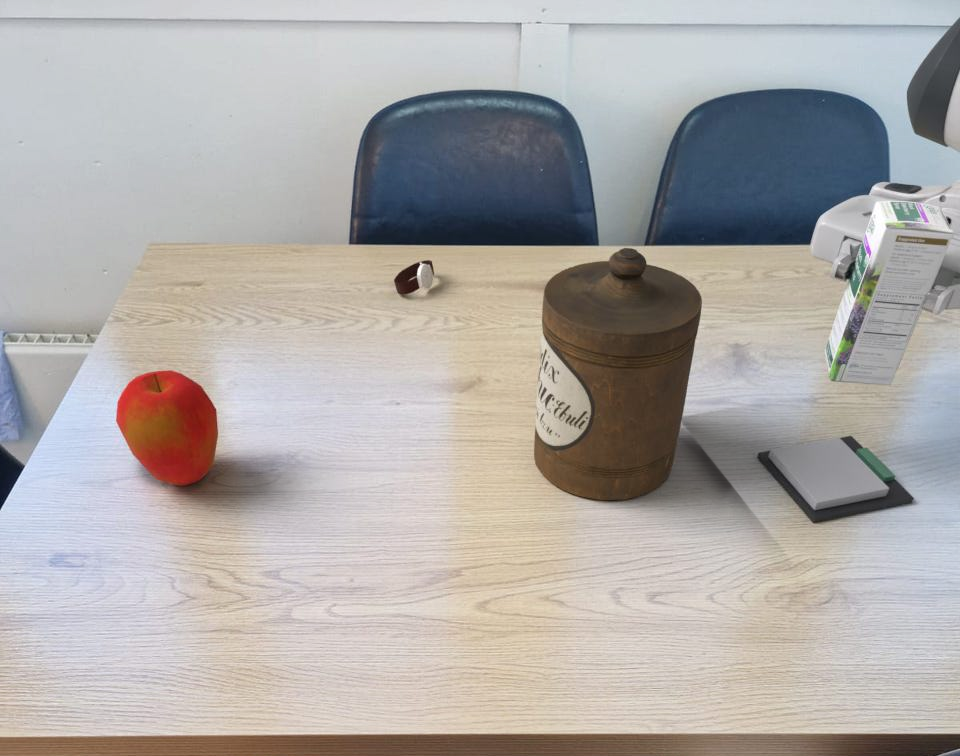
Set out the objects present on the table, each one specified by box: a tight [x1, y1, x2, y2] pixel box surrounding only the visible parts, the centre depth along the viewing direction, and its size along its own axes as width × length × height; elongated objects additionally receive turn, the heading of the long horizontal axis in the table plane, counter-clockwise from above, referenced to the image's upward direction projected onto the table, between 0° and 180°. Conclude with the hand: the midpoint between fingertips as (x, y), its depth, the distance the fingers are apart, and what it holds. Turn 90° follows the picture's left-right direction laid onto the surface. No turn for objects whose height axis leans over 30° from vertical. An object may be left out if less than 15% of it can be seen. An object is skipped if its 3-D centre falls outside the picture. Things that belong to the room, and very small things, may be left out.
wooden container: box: [533, 247, 703, 501], centre depth 84 cm, size 15×15×22 cm
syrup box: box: [824, 201, 954, 386], centre depth 78 cm, size 6×6×14 cm
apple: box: [115, 369, 219, 486], centre depth 85 cm, size 9×9×12 cm
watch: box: [393, 259, 435, 296], centre depth 117 cm, size 8×5×4 cm, turn 155°
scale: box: [757, 435, 915, 524], centre depth 87 cm, size 11×11×3 cm
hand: (883, 287), depth 76 cm, fingers closed on syrup box, 7 cm apart
